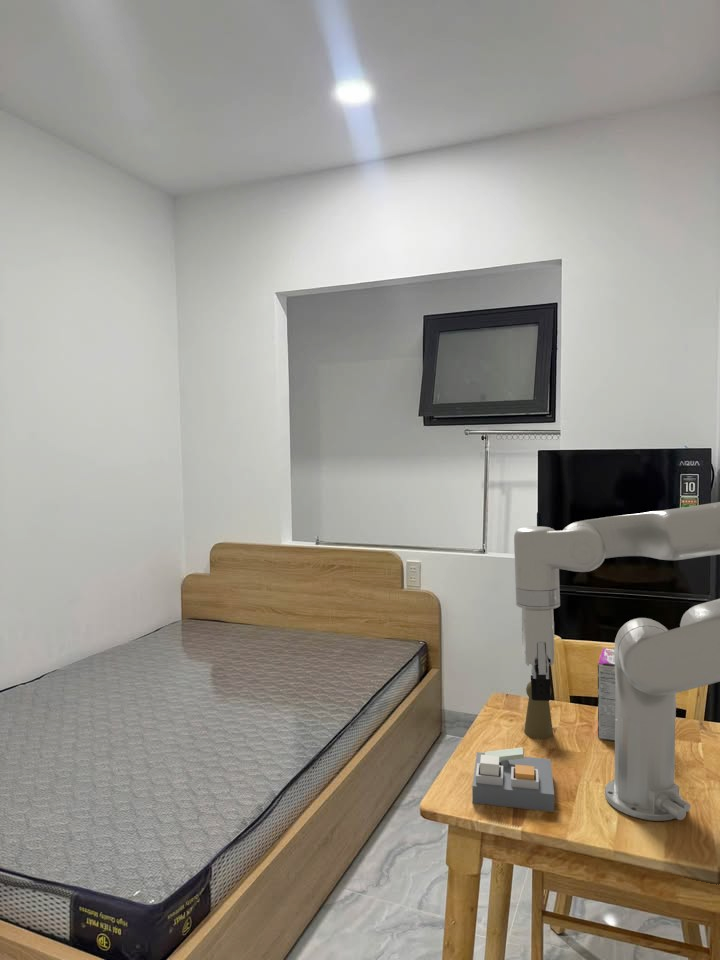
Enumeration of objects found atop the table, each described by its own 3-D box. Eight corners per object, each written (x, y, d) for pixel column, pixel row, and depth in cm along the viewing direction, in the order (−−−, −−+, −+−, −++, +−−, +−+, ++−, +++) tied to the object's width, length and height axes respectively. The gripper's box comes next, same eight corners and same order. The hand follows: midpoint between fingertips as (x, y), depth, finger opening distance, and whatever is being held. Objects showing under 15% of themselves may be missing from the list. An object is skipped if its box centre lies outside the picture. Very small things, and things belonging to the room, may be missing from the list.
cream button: (499, 767, 120) (499, 756, 120) (498, 775, 117) (498, 764, 117) (481, 765, 120) (481, 754, 120) (480, 774, 117) (480, 762, 117)
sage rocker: (523, 751, 124) (522, 747, 124) (523, 758, 122) (523, 754, 122) (486, 755, 126) (485, 751, 126) (485, 762, 123) (484, 758, 123)
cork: (518, 730, 145) (518, 680, 145) (540, 724, 148) (540, 675, 147) (536, 741, 140) (536, 689, 139) (559, 735, 142) (559, 684, 142)
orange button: (533, 777, 118) (533, 766, 118) (534, 786, 115) (534, 775, 115) (515, 775, 119) (515, 764, 119) (515, 784, 116) (515, 773, 116)
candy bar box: (601, 719, 151) (601, 647, 150) (625, 722, 149) (626, 649, 148) (596, 739, 140) (596, 662, 140) (621, 743, 138) (622, 665, 138)
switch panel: (550, 774, 126) (550, 752, 125) (554, 811, 113) (554, 787, 113) (476, 767, 129) (476, 745, 128) (472, 802, 116) (472, 778, 116)
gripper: (513, 588, 127) (517, 683, 128) (518, 606, 112) (521, 715, 113) (555, 587, 125) (557, 684, 126) (564, 606, 111) (568, 716, 112)
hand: (540, 698), depth 120 cm, fingers closed
